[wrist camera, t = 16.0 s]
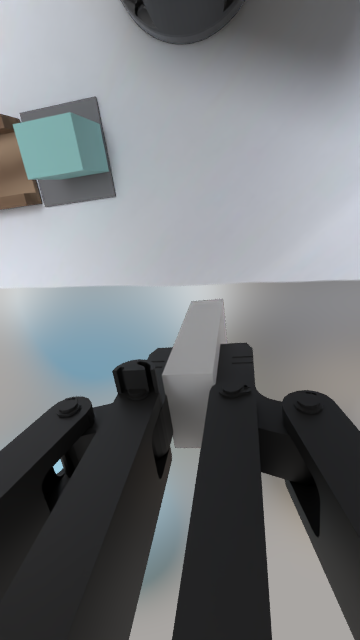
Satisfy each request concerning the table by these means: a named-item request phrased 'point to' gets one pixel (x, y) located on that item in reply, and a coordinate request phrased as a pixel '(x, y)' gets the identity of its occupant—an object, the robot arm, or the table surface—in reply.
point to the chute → (14, 170)
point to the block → (61, 147)
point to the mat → (77, 186)
